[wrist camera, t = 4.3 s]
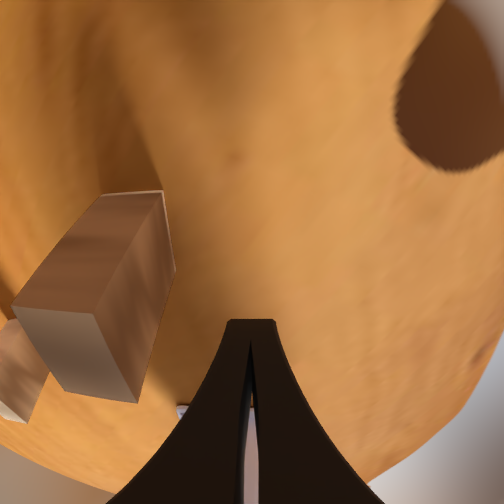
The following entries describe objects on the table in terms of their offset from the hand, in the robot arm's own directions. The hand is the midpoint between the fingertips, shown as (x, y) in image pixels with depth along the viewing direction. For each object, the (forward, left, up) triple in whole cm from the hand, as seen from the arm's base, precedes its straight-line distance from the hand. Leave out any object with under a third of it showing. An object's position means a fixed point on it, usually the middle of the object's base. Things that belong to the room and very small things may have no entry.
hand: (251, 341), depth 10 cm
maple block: (-9, +18, -7) cm, 21 cm away
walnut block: (0, +6, -7) cm, 9 cm away
